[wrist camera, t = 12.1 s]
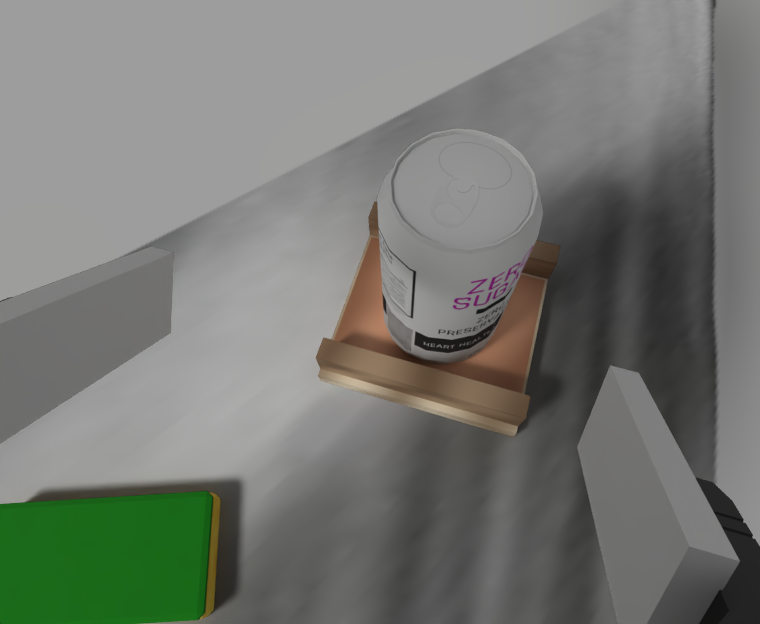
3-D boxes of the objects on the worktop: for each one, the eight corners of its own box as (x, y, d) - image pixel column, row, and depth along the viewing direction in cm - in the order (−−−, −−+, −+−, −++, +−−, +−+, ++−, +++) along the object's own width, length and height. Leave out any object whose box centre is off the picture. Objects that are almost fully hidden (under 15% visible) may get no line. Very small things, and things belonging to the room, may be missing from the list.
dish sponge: (18, 507, 36) (-7, 504, 33) (223, 494, 36) (211, 490, 33) (-8, 629, 33) (-37, 634, 30) (215, 615, 33) (202, 620, 30)
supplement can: (413, 249, 41) (421, 98, 27) (513, 292, 39) (576, 155, 25) (363, 336, 38) (344, 217, 24) (468, 387, 36) (512, 290, 23)
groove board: (320, 380, 38) (313, 364, 35) (378, 222, 43) (376, 196, 40) (512, 437, 36) (524, 426, 33) (548, 264, 41) (561, 240, 38)
